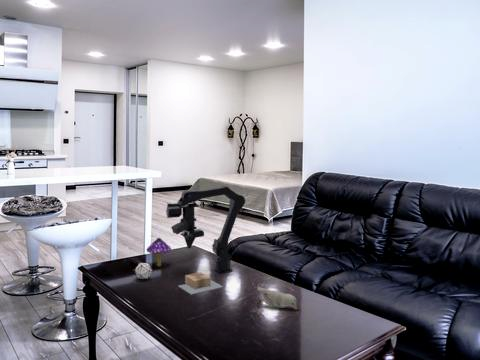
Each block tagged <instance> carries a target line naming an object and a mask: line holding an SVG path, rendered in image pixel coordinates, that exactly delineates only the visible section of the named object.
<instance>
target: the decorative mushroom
mask: <svg viewBox="0 0 480 360" xmlns="http://www.w3.org/2000/svg"><path fill="white" fill-rule="evenodd" d="M171 250H172V248H171V246H170V245H168V243H167V242H165V241H164V240H163V239H162V238H160V237H157V238H156V239H155V240H154V241H153V242H152V243H151V244H150V245H149V246H148V247H147V248H146V252H147V253H150V254H156V262H157V264H156V266H157V267H161V266H162V258H161V257H162V255H161V254H164V253H168V252H171Z"/></svg>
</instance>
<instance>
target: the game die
mask: <svg viewBox="0 0 480 360" xmlns="http://www.w3.org/2000/svg"><path fill="white" fill-rule="evenodd" d="M150 263H151V262H150V261H148V262H141V261H138V265H137V266H136V267H135V269H133V270H132V271H133V272H135V274H136V277H137V278H136V280H137V281H138V280H139V279H141V280H142V279H144V280H145V279H146V280H147V281H149V277H150V276H151V274H152V273H154V272H155V271H154V270H153V269H152V267H151V264H150Z"/></svg>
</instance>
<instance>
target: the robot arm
mask: <svg viewBox="0 0 480 360" xmlns="http://www.w3.org/2000/svg"><path fill="white" fill-rule="evenodd" d="M218 196H225V197H226V198H227V199H229V202H228V203H229V204H228V207H229V208H228V210H229V211H228V213H227V215H226V219H225V221H224V224H223V227H222V230H221V232H220V235H219V237H217V239H216V238H214V239H213V243H212V245H211V247H212V248H211V249H212V252H213V253H214V254H215V255H216V257H217V258H216V262H215V268H214V270H215V271H217V272H219V273H221V274H223V273H228V272H232V271H233V269H232V268H231V260H232V258H233V256H232V255H231V253H229V252H228V250H229V239H230V236H231V235H232V234H231V233H232V231H233V228H234V225H235V222H236V219H237V216H238V214H239V213H240V212H241V210H242V209H243V207H244V206H245V203H246V198H245V196H243V195H241V194H239V193H236V192H235V191H233V190H232V189H231V188H230V187H229V186H227V185H222V186H219V187H218V186H217V187H211V188H206V189H205V188H204V189H200V190H198V189H185V190H183V191H182V192H181V195H180V197H179V199H178V201H177V202H176V203H166V205H167V206H166V211H165V213H166V218H167V219H172V218H173V219H174V218H180V217H181V216H182V218H180V219H179V220H180V221H179V222H177V223H176V224H174V225H172V226H171V230H172V233H173V234H175V235H181V236H182V237H183V238H184V241H185V244H186V247H187V249H191V248H192V246H193V245H194V242H195V240H196V238H201V237H205V231H204V230H202V229H200V228H199V229H197V226H196V223H195V221H197V217H195V208H199V204H197V202H198V201H200V200H202V199H206V198H213V197H218Z"/></svg>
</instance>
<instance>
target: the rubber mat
mask: <svg viewBox="0 0 480 360" xmlns="http://www.w3.org/2000/svg"><path fill="white" fill-rule="evenodd" d="M178 288H180V289H182V290H183V291H184V292H186V293H188V295H191V296H193V295H197V294H200V293H205V292H209V291H214V290H218V289H223V288H224V286H223V285H221V284H220V283H218V282H215V280H212V279H210V286H206V287H202V288H197V289H194V288H192V287H191V286H189V285H187V284H186V283H185V284H180V285H178Z"/></svg>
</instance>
